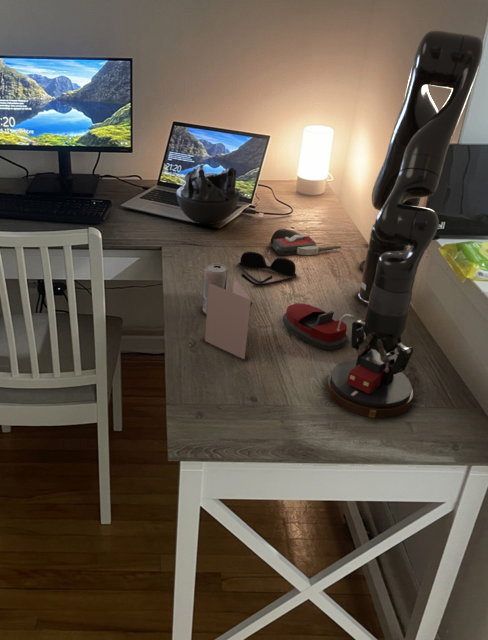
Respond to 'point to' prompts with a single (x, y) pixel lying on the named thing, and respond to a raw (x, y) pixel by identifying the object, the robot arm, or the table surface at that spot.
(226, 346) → the greeting card
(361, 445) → the table surface
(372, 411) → the stand
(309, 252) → the walkie-talkie
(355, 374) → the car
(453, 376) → the table surface
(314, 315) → the bumper car
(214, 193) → the bowl of black rocks
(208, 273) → the energy drink
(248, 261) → the sunglasses
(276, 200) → the table surface
